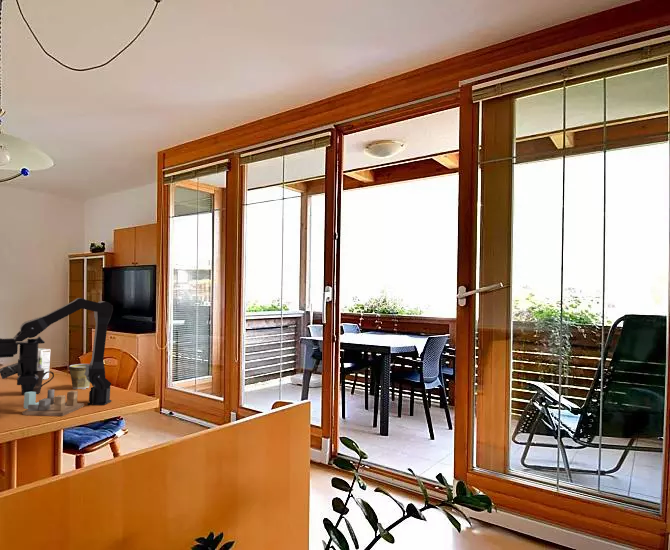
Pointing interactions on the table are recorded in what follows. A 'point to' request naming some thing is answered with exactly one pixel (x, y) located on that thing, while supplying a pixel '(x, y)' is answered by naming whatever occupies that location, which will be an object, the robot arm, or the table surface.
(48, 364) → the syrup box
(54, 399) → the block puzzle board
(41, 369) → the coffee mug
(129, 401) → the table surface
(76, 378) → the ceramic cup
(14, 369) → the robot arm
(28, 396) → the teal l-shaped block
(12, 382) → the table surface
